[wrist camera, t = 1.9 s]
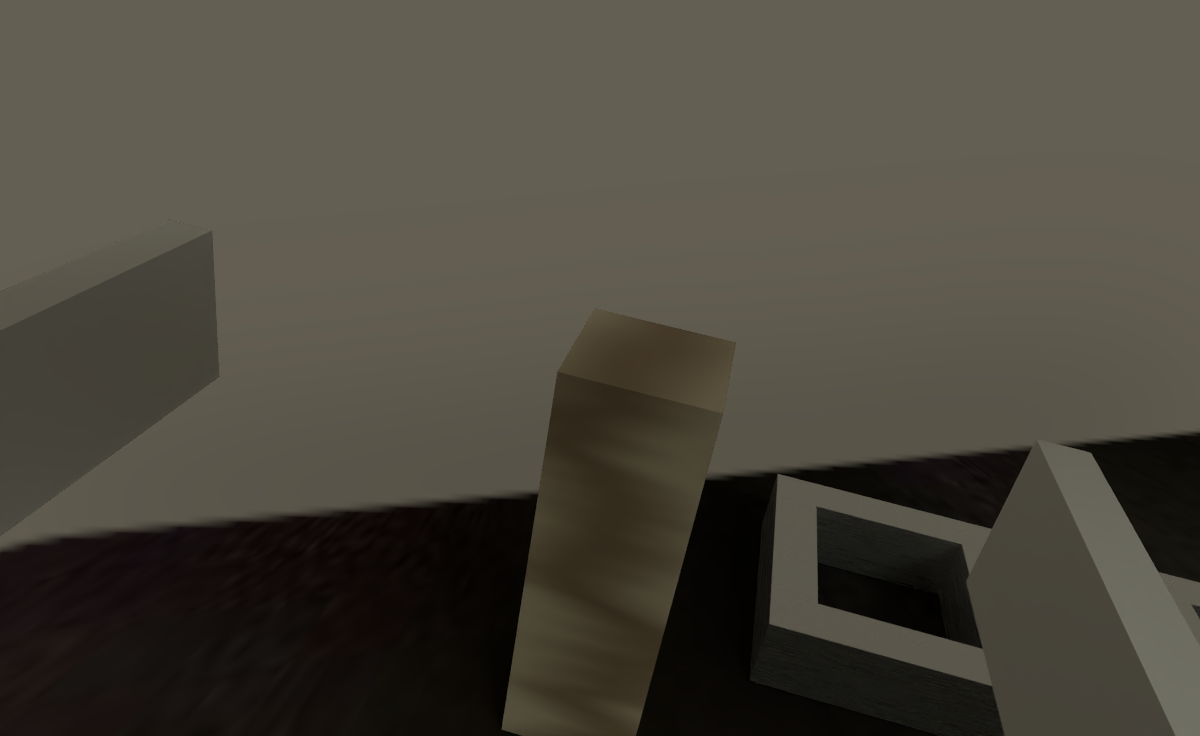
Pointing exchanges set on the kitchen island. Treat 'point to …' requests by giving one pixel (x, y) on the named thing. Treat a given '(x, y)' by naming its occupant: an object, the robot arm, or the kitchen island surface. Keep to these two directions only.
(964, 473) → the kitchen island surface
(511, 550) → the kitchen island surface
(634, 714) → the peg
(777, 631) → the grey flat slotted block
